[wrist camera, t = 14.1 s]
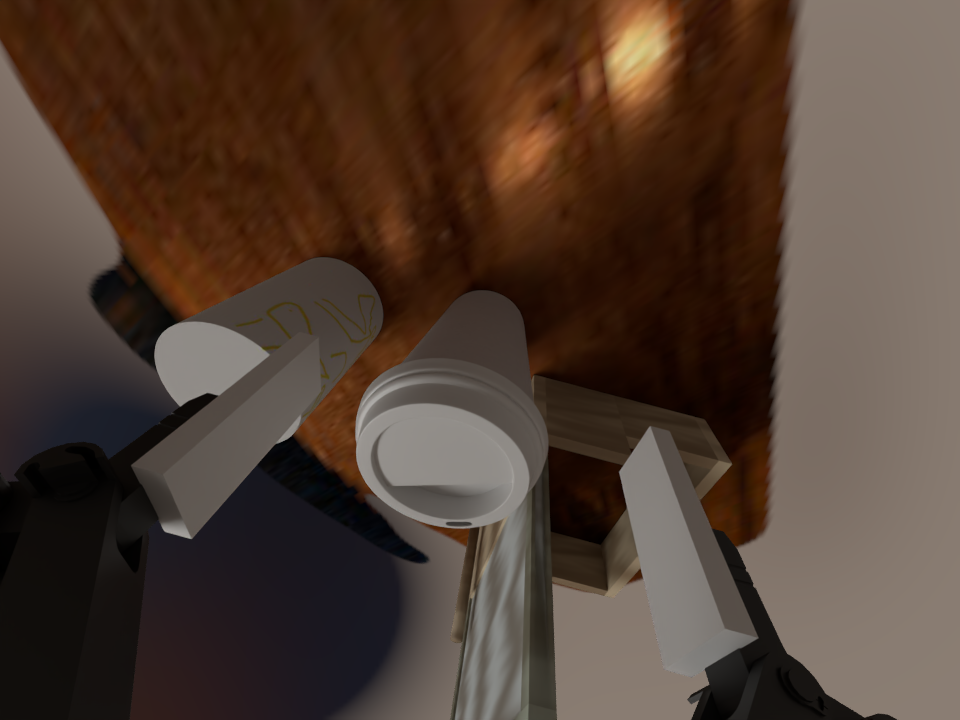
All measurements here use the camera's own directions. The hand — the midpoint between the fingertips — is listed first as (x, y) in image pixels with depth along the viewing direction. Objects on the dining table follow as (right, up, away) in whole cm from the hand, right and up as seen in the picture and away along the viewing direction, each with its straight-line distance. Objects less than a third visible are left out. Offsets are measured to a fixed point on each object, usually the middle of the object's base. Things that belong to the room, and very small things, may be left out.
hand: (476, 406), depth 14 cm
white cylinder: (-12, +6, +16) cm, 21 cm away
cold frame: (+10, -10, +22) cm, 26 cm away
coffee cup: (+1, +4, +15) cm, 15 cm away
